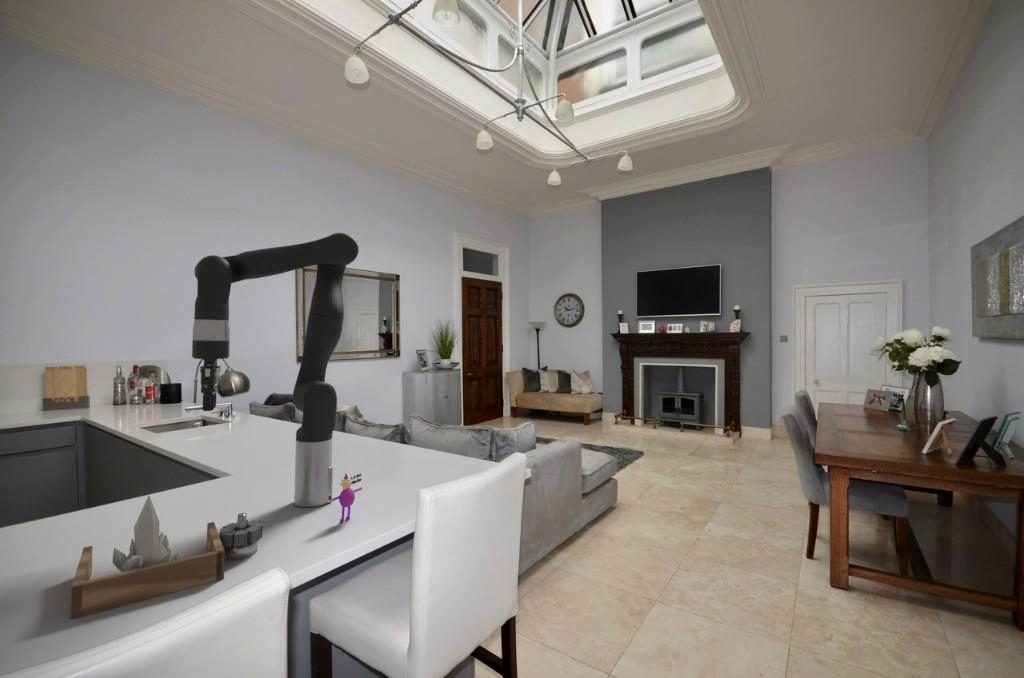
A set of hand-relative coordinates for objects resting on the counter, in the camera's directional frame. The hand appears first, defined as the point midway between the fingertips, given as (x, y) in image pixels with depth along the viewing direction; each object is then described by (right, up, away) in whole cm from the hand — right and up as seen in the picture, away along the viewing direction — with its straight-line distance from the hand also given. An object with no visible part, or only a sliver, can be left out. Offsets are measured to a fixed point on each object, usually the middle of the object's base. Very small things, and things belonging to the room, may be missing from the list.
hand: (209, 408), depth 109 cm
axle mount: (+17, -28, -16) cm, 36 cm away
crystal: (+6, -28, -26) cm, 39 cm away
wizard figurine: (+32, -28, +2) cm, 43 cm away
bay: (+6, -27, -25) cm, 38 cm away
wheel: (+17, -25, -16) cm, 34 cm away
